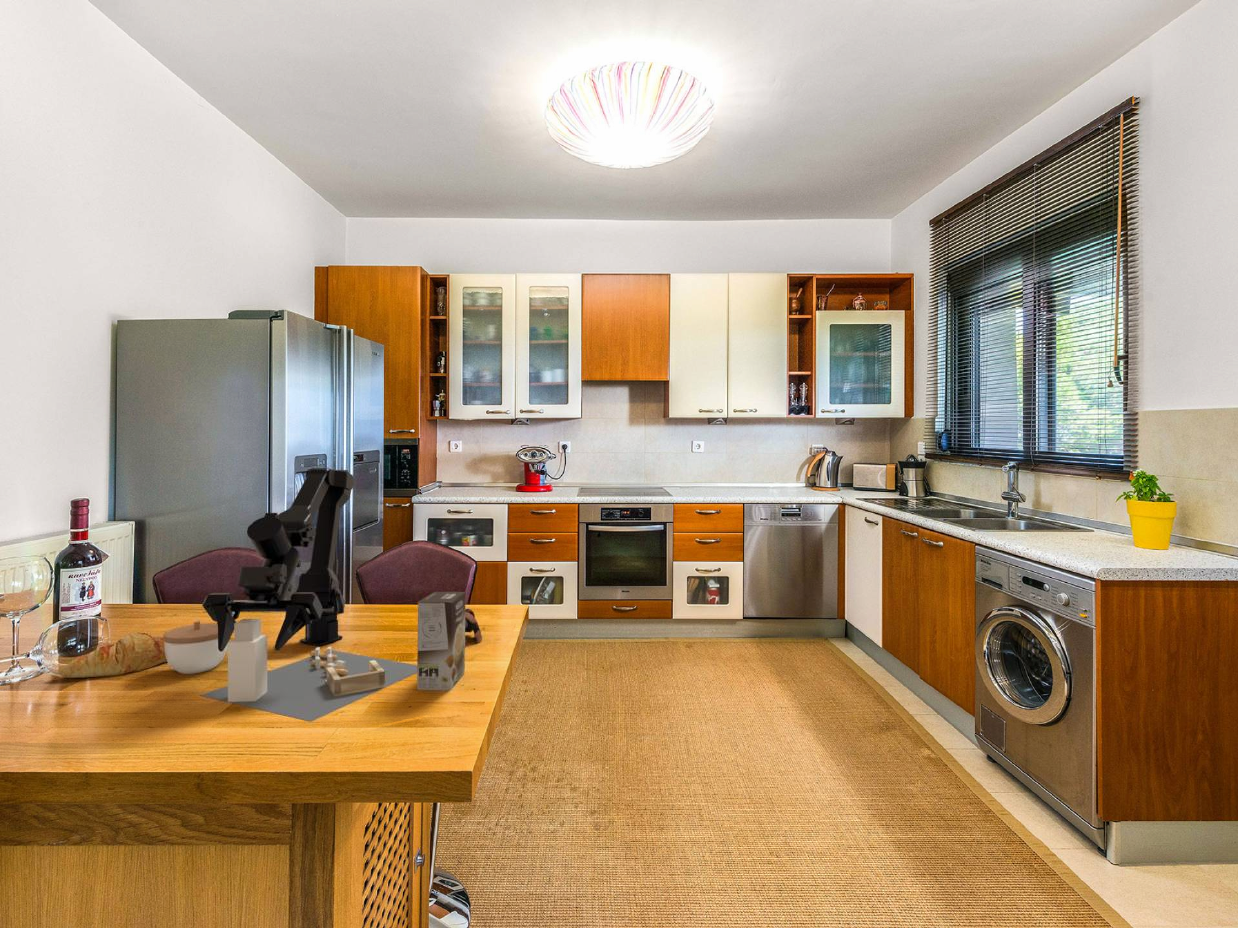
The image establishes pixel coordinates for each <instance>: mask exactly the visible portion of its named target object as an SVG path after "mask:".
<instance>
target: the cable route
mask: <svg viewBox="0 0 1238 928" xmlns="http://www.w3.org/2000/svg"><path fill="white" fill-rule="evenodd" d="M332 650H333V649H332V646H328V647H327V648H326V651H327V653H323V652H321V647H319V646H318V647H315V650H311V651H310V652H309V657H311V656H314V657H315V660H312V661H311V665H314V666H315V668H316V669H317V670H318V669H320V667H325V668H324V671H325V672H326V675H327V668H330V667H333V668H334V670H335V671H336V673H337V674H340V675H345V676H346V675H347V674H348V670H345V662H344V661H340V660H338V661H336V664H334V663H333V660H336V659H337V655H332ZM320 658H325V659H327V662H323V661H320Z"/></svg>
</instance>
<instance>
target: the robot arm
mask: <svg viewBox="0 0 1238 928" xmlns="http://www.w3.org/2000/svg"><path fill="white" fill-rule="evenodd" d="M354 486H355V478H354V475H353V474H352V473H350V472H349V470H347V469H332V468H329V467H311V468H309V469H307V470H306V472H305V480H304V481H303V483H302V484H301V487H300V489H299V490H298V491H297V494H296V496H295V498H294V500H293V502H292V504H291V506H290V507H289V508H287V509H286V510H284V511H282V512H280V513H278V512H265V515H264V517H260V518H258V519H256V520H255V521H253V522H252V523H251V524H250V525H248V527H247V531H246V533H247V536H248V538H249V540H250V542H251V544H252V545H253V547H254V549H255V551H256V554H257V555H258V557H260V558H262V559H264V560H263V562H262V565H261V566H243V567H240V572H239V577H238V582H237V587H241V588H244V591H243V594H244V595H245V597H249V598H248V599H245V600H243V599H238V600H237V599H236V597H235V596H234V595H233V592H212V593H209V594H207V595H206V597H204V600H203V602H202V605H201V606H202V607H203V609H204V610H205V612H206V613H207V614H208V616H209V617H210V619H211V620H212V621H213V622H216V623H217V624H218V650H219V651H220V652H222V651H223V650H224V649H225V647H226V646H227V644H228V642H230V641H231V640H230V639H231V638H232V635H233V634H234V623H236V622H237V621H236V620H237V619H239V617H240V615H241V613H247V612H248V613H251V612H252V613H253V612H261V613H285V616H284V620H283V623H282V624H281V628H280V630H279V632H278V635H277V637H276V641H275V644H274V650H275V651H277V652H278V651H280V650H281V649H282V648H283V647H284V645H286V644H287V643H288V641H290V639H291V638H293V636H295V635H296V634H297V633H298V632H299V631H300V630H302V629H303V628H304V627H305V630H304V631H305V633H304V638H301V639H299V640H298V642H299V643H302V644H309V645H314V646H318V647H319V646H323V645H326V644H329V643H333V642H335V641H338V640H339V641H340V640H341V639H343V637H344V636H343V635H341V634H340V635H339V620H338V615H341V614H344V613H345V606H346V605H345V603H346V601H345V599H344V596H343V594H342V592H341V590H340V587H339V586H340V581H339V580H338V579H339V578H337V575H336V573H335V571H334V566H335V556H336V548H337V542H338V541H337V540H338V533H339V526H340V518H341V510H342V508H343V506H344V505H346V503H347V502H348V500H350V498H351V492H352V490H353V488H354ZM316 515H317V516H316ZM315 517H316V524H314V519H315ZM312 543H313V545H312V551H311V560H310V566H309V568H308V569H307V570H306V572H305V573H303V572H302V573H301V574H300V576H299V578H298V587H297V589H296V591H295V592H293V593H292V594H291V595H290V598H289V599H287V595H288V592H292V589H293V588H294V586H293V584H292V582H293V579H294V575H295V573H296V569H297V568H300V567H301V565H302V564H301V559H300V558H301V555H300V553H299V551H298V549H297V548H301V549H302V548H303V549H304V548H309V546H310V545H311V544H312Z"/></svg>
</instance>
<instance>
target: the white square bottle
mask: <svg viewBox="0 0 1238 928" xmlns="http://www.w3.org/2000/svg"><path fill="white" fill-rule="evenodd" d="M233 634H234V636H233V639H231V640H229V642H228V648H227V686H228V702H227V703H229V702H246V701H256V700H258V699H259V698H260V697H261V696H263V695H264V694H265V693H266V692H267V672H268V634H262V618H242V619H240V620H238V621H236V623H234V631H233Z"/></svg>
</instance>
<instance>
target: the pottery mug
mask: <svg viewBox="0 0 1238 928" xmlns="http://www.w3.org/2000/svg"><path fill="white" fill-rule="evenodd" d="M472 632H473V635H474V636H473V637H474V638H475V639H476V643H477V644H479V643H481V641H482V640H483V636H482V631H481V628H480V626H479V623H478V621H477V619H476V616H475V612H474V611H473V610H472V609H471V608H465V633H472Z"/></svg>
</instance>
